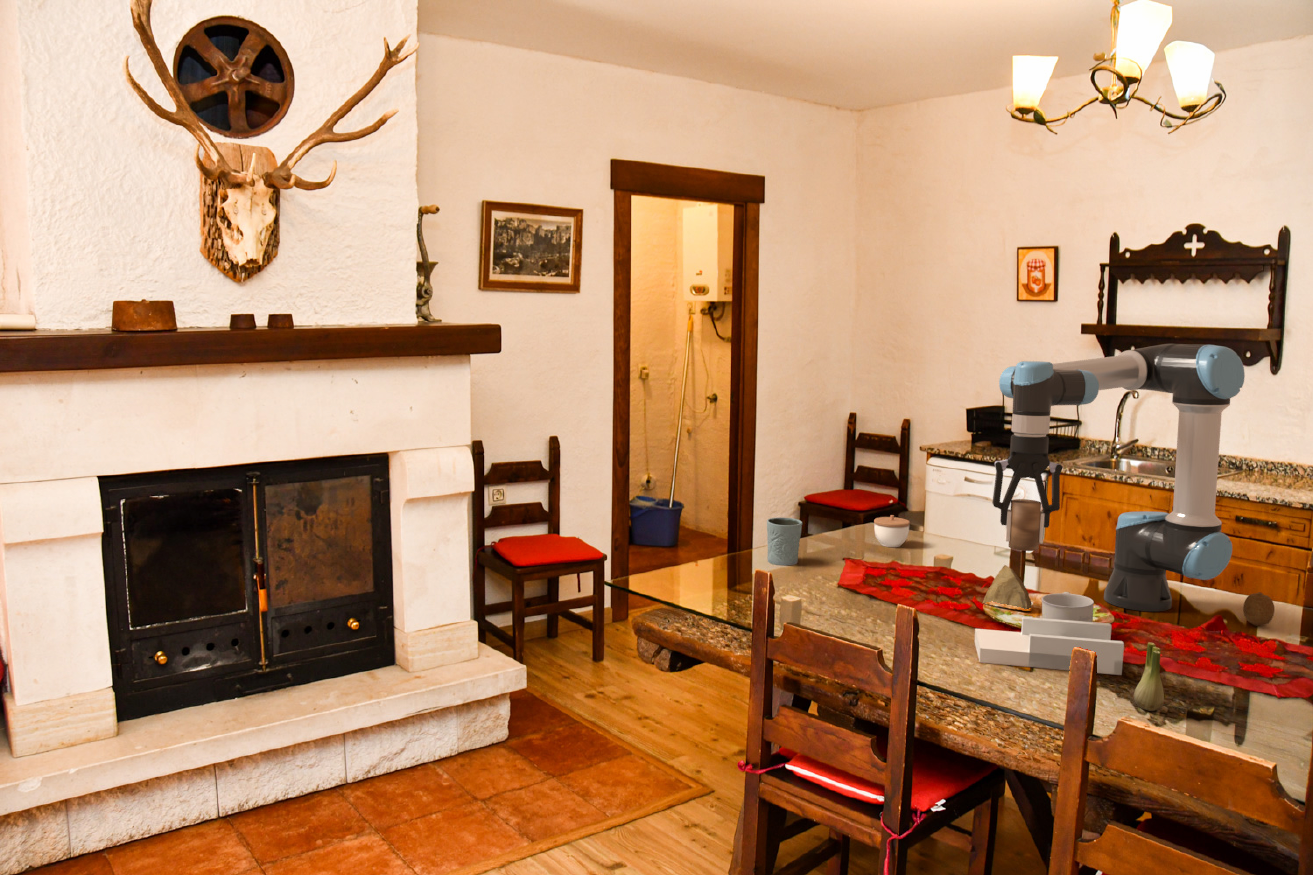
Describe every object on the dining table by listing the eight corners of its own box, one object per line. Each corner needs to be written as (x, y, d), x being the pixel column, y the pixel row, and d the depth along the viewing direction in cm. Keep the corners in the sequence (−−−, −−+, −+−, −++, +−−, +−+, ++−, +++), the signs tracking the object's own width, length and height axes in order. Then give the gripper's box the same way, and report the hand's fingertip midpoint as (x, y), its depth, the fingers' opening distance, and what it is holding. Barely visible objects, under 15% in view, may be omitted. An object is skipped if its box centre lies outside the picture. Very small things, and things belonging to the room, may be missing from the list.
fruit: (1235, 623, 227) (1238, 590, 226) (1253, 620, 230) (1256, 587, 229) (1260, 631, 222) (1264, 597, 221) (1279, 628, 224) (1282, 594, 223)
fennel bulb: (1157, 716, 174) (1163, 652, 172) (1128, 709, 177) (1133, 645, 175) (1166, 707, 178) (1172, 644, 176) (1138, 699, 181) (1143, 637, 180)
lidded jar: (874, 548, 296) (875, 518, 295) (872, 540, 307) (873, 511, 306) (910, 549, 295) (911, 519, 294) (907, 541, 305) (908, 512, 304)
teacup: (1087, 644, 212) (1090, 608, 211) (1035, 634, 217) (1037, 600, 216) (1097, 627, 223) (1099, 593, 222) (1047, 618, 229) (1049, 585, 228)
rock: (1045, 603, 234) (1021, 586, 243) (1030, 578, 231) (1006, 562, 240) (1010, 630, 233) (987, 612, 243) (994, 605, 230) (972, 588, 240)
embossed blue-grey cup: (776, 555, 286) (777, 515, 284) (807, 561, 280) (808, 520, 278) (759, 562, 278) (760, 521, 276) (790, 568, 272) (791, 526, 270)
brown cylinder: (1037, 545, 210) (1040, 500, 209) (1038, 551, 205) (1041, 505, 204) (1008, 543, 212) (1010, 498, 211) (1008, 549, 207) (1011, 503, 205)
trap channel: (1107, 653, 206) (1109, 623, 205) (1121, 675, 194) (1124, 643, 193) (974, 641, 212) (976, 612, 211) (979, 662, 200) (981, 631, 199)
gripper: (1074, 434, 207) (1067, 539, 210) (981, 430, 212) (975, 534, 215) (1081, 438, 200) (1073, 548, 203) (984, 434, 204) (978, 542, 207)
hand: (1023, 540), depth 209 cm, fingers closed on brown cylinder, 6 cm apart
